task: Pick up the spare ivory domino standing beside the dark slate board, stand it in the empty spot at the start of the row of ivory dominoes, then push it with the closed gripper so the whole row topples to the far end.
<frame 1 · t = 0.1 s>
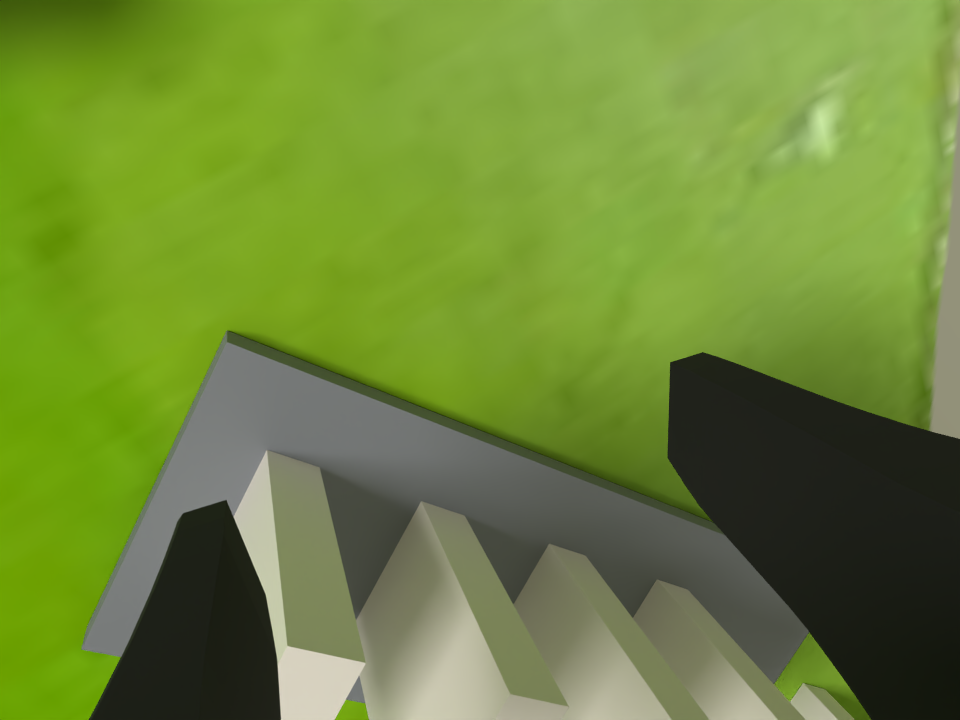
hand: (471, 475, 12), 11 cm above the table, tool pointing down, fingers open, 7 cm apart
domino 2: (638, 638, 28), point 1 cm above the table, touching slate board
domino 5: (256, 531, 21), point 1 cm above the table, touching slate board
domino 4: (407, 573, 23), point 1 cm above the table, touching slate board
slate board: (522, 591, 26), on the table
domino 3: (532, 609, 25), point 1 cm above the table, touching slate board
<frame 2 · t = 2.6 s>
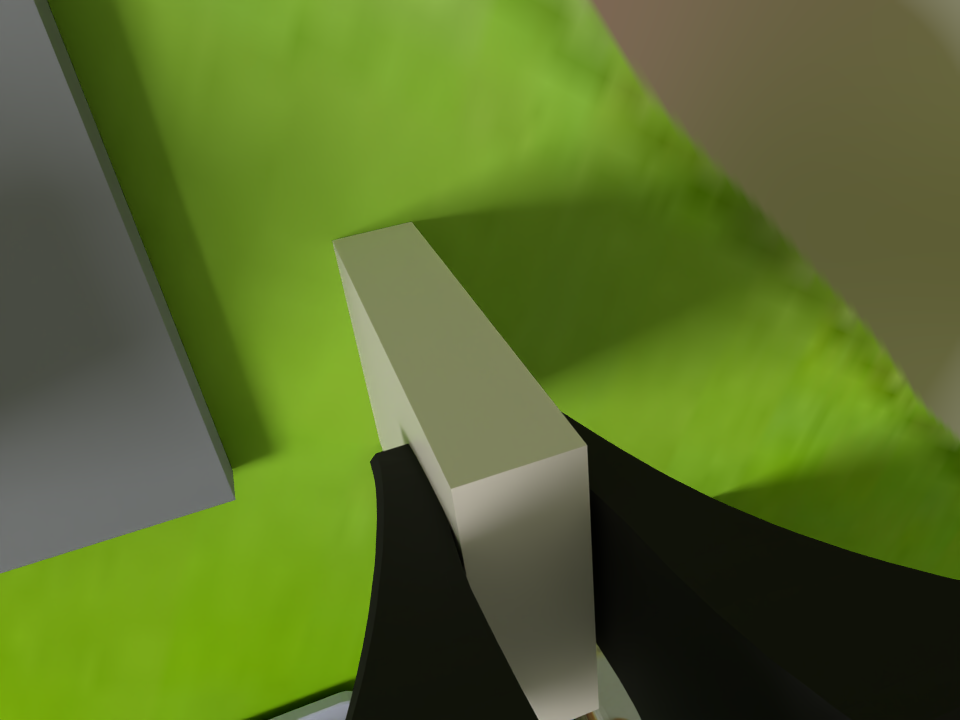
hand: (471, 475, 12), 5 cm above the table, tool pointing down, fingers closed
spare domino: (392, 335, 16), on the table, touching gripper
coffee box: (640, 626, 24), on the table
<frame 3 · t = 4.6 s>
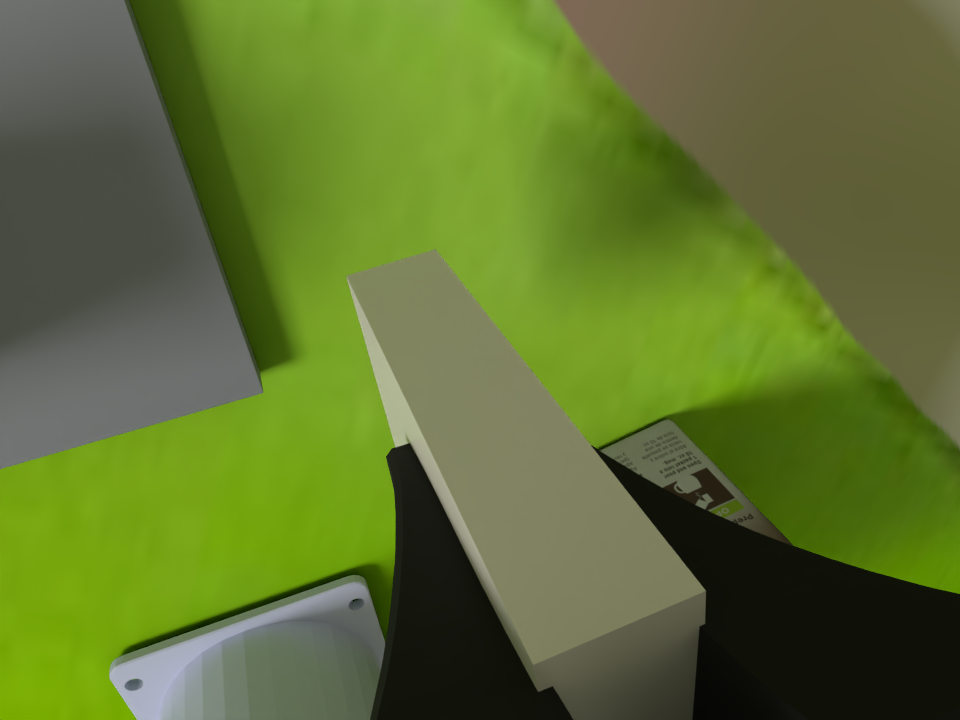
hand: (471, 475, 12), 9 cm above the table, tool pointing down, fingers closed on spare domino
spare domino: (420, 380, 14), point 6 cm above the table, touching gripper
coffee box: (608, 533, 28), on the table
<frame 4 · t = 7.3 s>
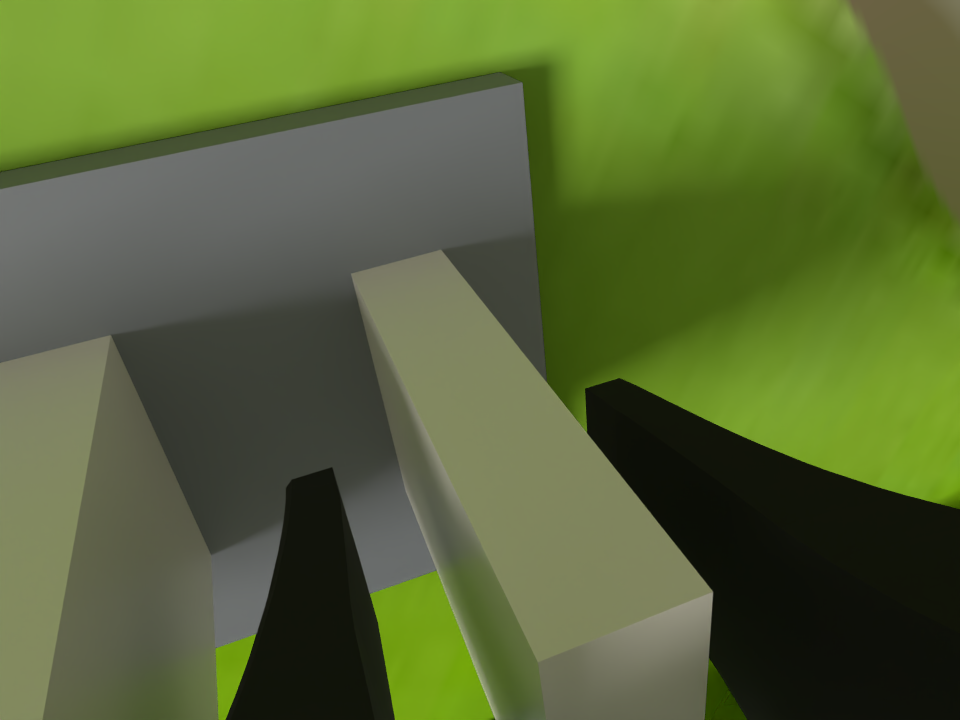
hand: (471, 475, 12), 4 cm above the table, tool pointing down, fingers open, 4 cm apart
domino 2: (118, 470, 13), point 1 cm above the table, touching slate board
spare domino: (421, 381, 14), point 1 cm above the table, touching slate board
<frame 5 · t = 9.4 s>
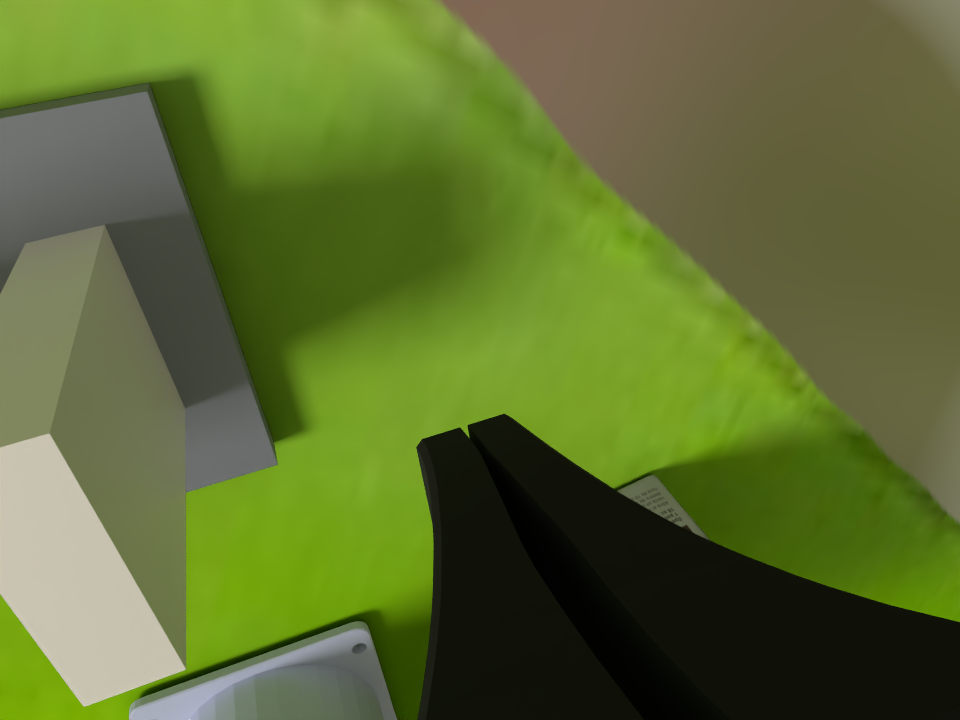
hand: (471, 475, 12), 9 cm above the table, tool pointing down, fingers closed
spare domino: (112, 333, 17), point 1 cm above the table, touching slate board
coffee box: (596, 578, 29), on the table
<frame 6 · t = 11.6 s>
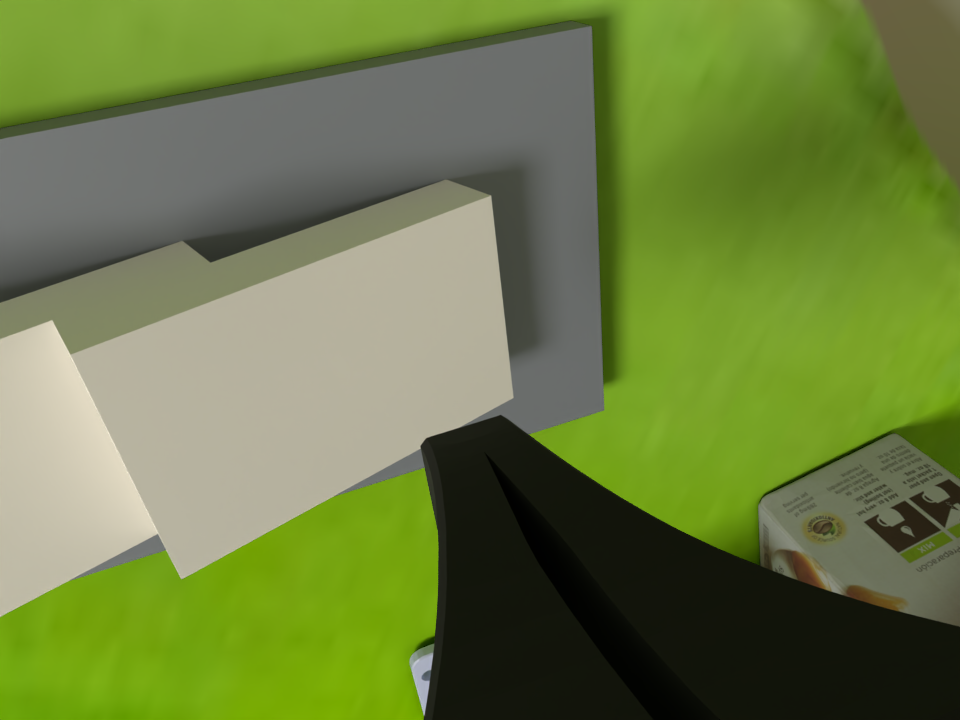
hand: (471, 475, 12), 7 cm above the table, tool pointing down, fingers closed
domino 2: (234, 360, 15), point 2 cm above the table, tilted 71°, touching slate board, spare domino
slate board: (36, 373, 16), on the table
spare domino: (481, 293, 17), point 2 cm above the table, tilted 73°, touching domino 2, slate board
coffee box: (818, 539, 30), on the table
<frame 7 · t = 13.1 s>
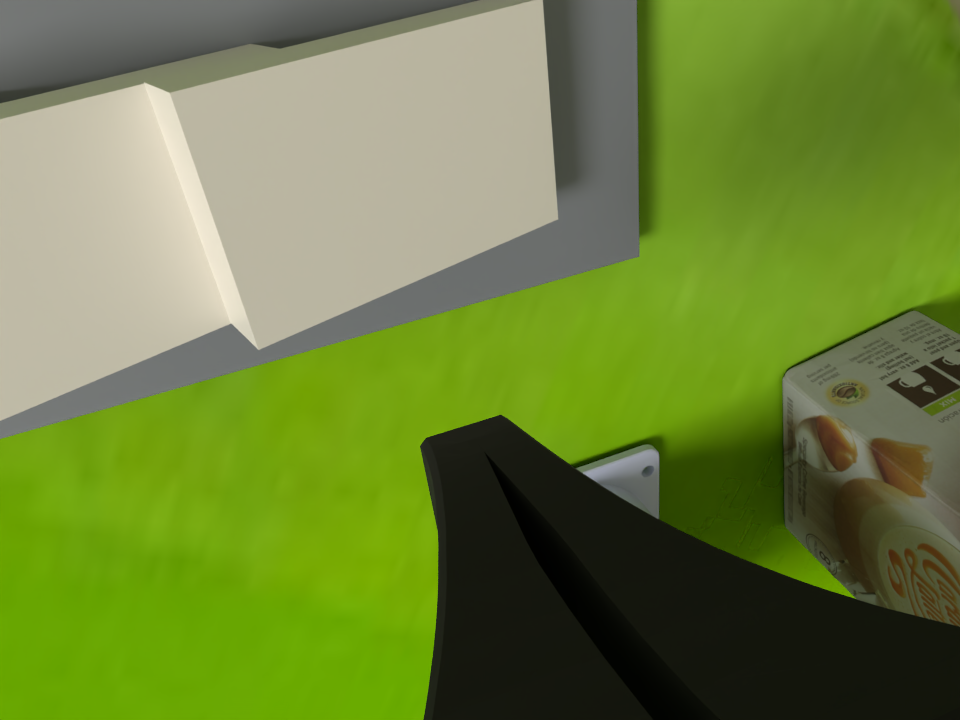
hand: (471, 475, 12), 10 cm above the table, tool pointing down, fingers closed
domino 2: (297, 166, 16), point 2 cm above the table, tilted 72°, touching domino 3, slate board, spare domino
slate board: (110, 186, 17), on the table
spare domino: (528, 112, 17), point 2 cm above the table, tilted 73°, touching domino 2, slate board
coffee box: (839, 423, 31), on the table
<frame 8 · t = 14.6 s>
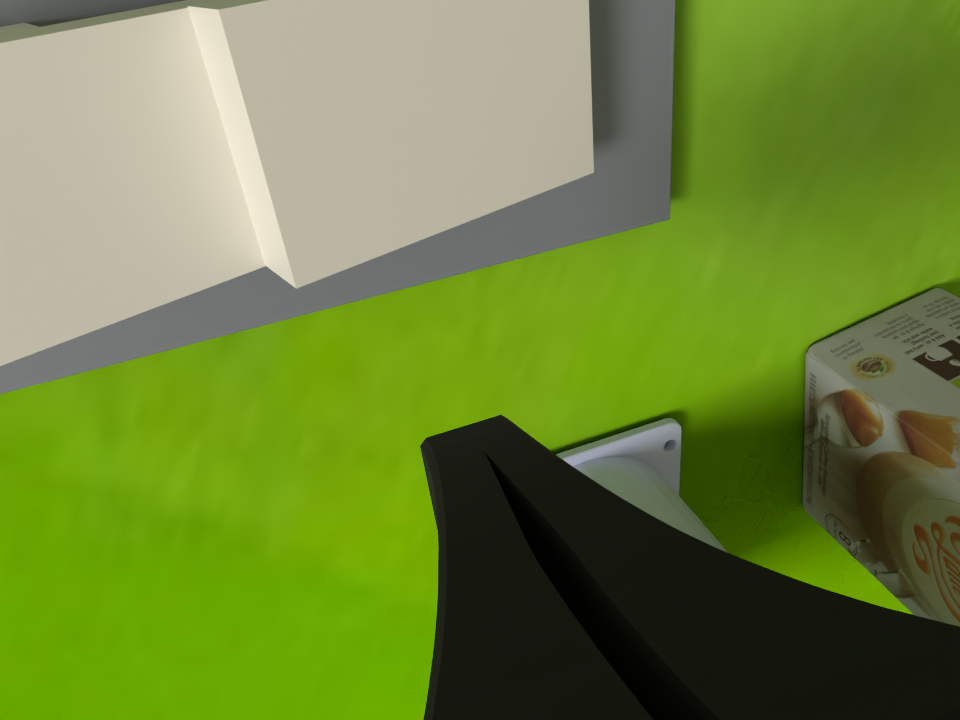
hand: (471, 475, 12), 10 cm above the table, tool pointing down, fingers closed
domino 2: (334, 109, 16), point 2 cm above the table, tilted 72°, touching domino 3, slate board, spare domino
slate board: (142, 129, 17), on the table
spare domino: (566, 62, 17), point 2 cm above the table, tilted 73°, touching domino 2, slate board
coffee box: (860, 403, 30), on the table
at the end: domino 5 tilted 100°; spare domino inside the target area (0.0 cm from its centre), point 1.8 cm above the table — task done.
